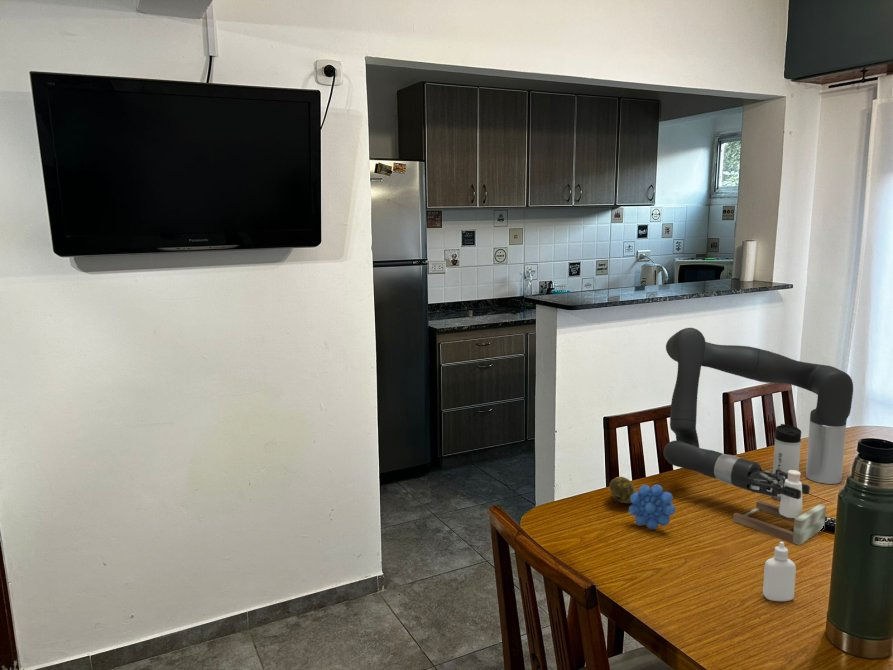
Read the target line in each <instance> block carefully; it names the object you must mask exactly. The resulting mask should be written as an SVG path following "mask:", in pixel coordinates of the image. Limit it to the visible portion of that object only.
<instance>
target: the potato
mask: <svg viewBox="0 0 893 670" xmlns="http://www.w3.org/2000/svg"><path fill="white" fill-rule="evenodd" d="M609 490H610V491H609V492H610V494H611V496H612V498H613V501H615V502H619V503H621V504H633V503H632V502H631V501H630V497H631V495H632V494H633V493H638V492H637V488H636V486H635V485H634V483H633V481H631V480H630V479H629V478H626V477H624V476H617V477H614V478H613V479H611V480H610V482H609Z"/></svg>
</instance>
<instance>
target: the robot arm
mask: <svg viewBox="0 0 893 670" xmlns="http://www.w3.org/2000/svg"><path fill="white" fill-rule="evenodd" d="M665 352H666V353H667V355H668V356H669V357H670V358H671V359H672V360H673V361H675V362H677V372H676V373H677V374H676V375H677V376H676V381H675V385H674V389H673V392H672V396H671V404H670V412H669V413H670V414H669V415H670V416H669V417H670V418H669V428H670V430H671V431H672V432H673V433H674V434H675V440H672V441H669V442H668V443H666V445H665V446H664V448H663V456H664V459H665V460H666V461H667V463H669V464H670V465H672V466H675V467H678V468H681V469H686V470H688V471H692V472H697V473H700V474H702V475H704V476H706V477H709V478H712V479H715V480H718V481H720V482H723V483H725V484H727V485H730V486H734V487H736V488H740V489H743V490H745V491H749V492H752V493H757V494H759V495H761V494H762V495H766V496H771V497H772V496H777V494H778V495H783V494H784V495H786V496H789V497H792V498H795V499H800V498H801V490H798V489H795V488H792V487H789V486H785V487H784V483H785V480H786V479H788V474H787V473H785V472H783V471H781V470H776V472H775V473H773V471H770V470H763V469H762V468H761V465H760V464H759V462H756V461H752V460H750V459H746V458H742V457H739V456H737V455H733V454H727V453H726V454H725V453H723V452H719V451H715V450H712V449H705V448H703V447H702V448H701V447H700V444H699V443H700V442H699V437H698V433H697V413H698V411H697V410H698V395H699V394H698V392H699V382H700V377H701V369H702V367H704V368H705V367H706V368H709V369H713V370H716V371H720V372H724V373H726V374H727V373H728V374H731V375H734V376H738V377H741V378H745V379H749V380H751V381H757V382H760V383H767V384H785V385H791V386H794V387H798V388H801V389H804V390H806V391H809V392H812V393H813V394H815V395H817V398H816V399H817V401H816V407H815V408H814V409H812V410H811V411H810V415H809V429H808V441H807V452H806V453H807V454H806V455H807V457H806V468H805V477H806V478H807V479H808V480H811V481H812V482H816V483H820V484H829V485H835V484H840V483H841V482H842V478H843V468H844V455H845V445H846V432H847V431H846V430H847V421H848V418H849V416H850V414H851V409H852V405H853V404H852V403H853V397H854V382H853V378H852V377H851V376H850V375H849V374H848V373H847V372H846V371H843V370H841V369H839V368H837V367H835V366H833V365H832V366H831V365H825V364H820V363H819V364H818V363H811V362H805V361H801V360H796V359H792V358H790V357H788V356H784V355H781V354H779V353H776V352H773V351H770V350H765V349H762V348H757V347H754V346H750V345H749V346H748V345H733V344H732V345H730V344H718V343H717V344H716V343H712V342H708V341H706V338H705V336H704V334H703V333H702V332H701V331H700V330H699V329H697V328H695V327H686V328H683V329H680V330H679V331H677V332H676V333H674V334H673V335H671V336H670V337H669V338H668V340H667V342H666V344H665ZM779 482H780V483H779ZM810 488H811V487H810V485H808V484H805V483H802V495H809V494H810V490H811V489H810Z"/></svg>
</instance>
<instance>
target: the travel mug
mask: <svg viewBox="0 0 893 670" xmlns="http://www.w3.org/2000/svg"><path fill="white" fill-rule="evenodd" d="M801 439H802V430H801V429H800V428H799V427H796V426H793V425H789V424H788V423H780V425H778V426H776V427H775V438H774V448H773V449H774V450H773V464H772V472H773V473H775V472H776V470H781V471H783V472H785V473H787V474H788V471H789V470H796V471H799V472H800V458H801V447H802V446H801V445H802V440H801ZM779 483H780V482H779ZM771 497H772V498H773V499H774V500H776V501H780V500H781V497H782V495H778V494H777V496H771Z"/></svg>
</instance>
